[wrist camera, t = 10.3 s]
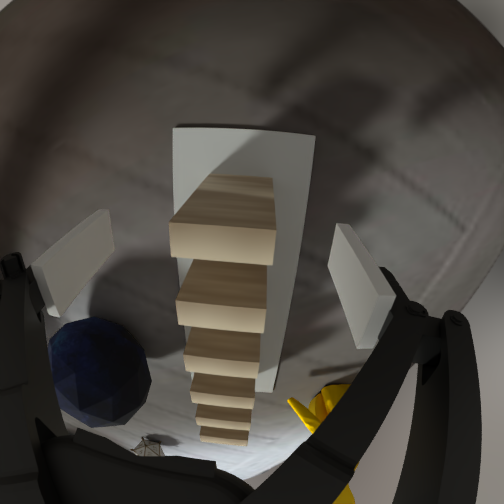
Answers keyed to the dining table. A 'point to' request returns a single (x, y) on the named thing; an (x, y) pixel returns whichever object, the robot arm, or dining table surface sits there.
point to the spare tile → (227, 221)
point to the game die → (148, 448)
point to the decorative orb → (98, 372)
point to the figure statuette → (316, 416)
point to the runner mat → (286, 209)
